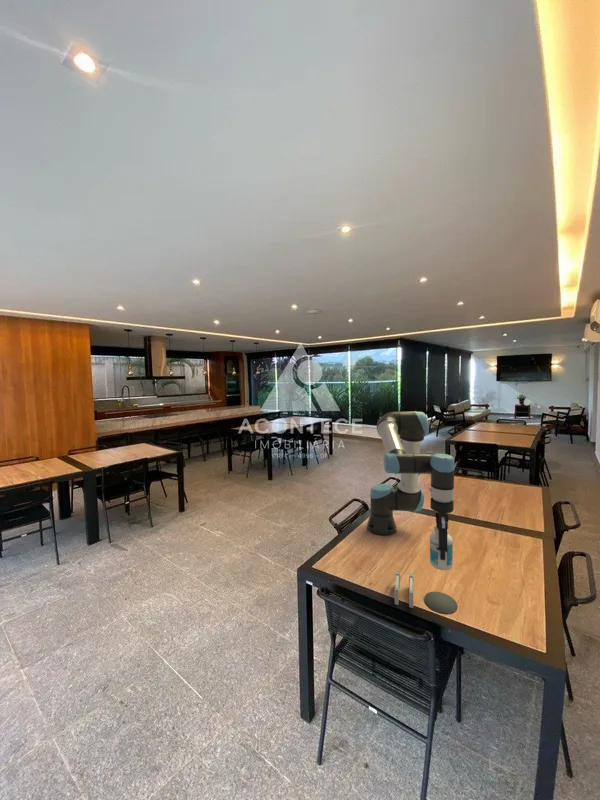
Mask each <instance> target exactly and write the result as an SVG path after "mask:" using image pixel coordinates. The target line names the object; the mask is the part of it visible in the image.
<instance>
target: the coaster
mask: <svg viewBox="0 0 600 800" xmlns="http://www.w3.org/2000/svg"><path fill="white" fill-rule="evenodd" d="M423 598H424V599H423V600H424V603H425V605H426V606H427V607H428V608H429V609H430V610H431V611H434V612H435V613H439V614H443V615H445V614H446V615H448V614H449V615H450V614H451V615H452V614H453V613H456V612H457V610H458V603H457V601H456V600H455V599H454V598H453V597H452V596H450V595H449V594H447V593H444V592H440V591H429V592H426V594H425V595H424V597H423Z"/></svg>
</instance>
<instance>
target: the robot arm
mask: <svg viewBox="0 0 600 800" xmlns="http://www.w3.org/2000/svg"><path fill="white" fill-rule="evenodd" d="M429 427H430V426H429V421H428V417H427V415H426V414H425V412H423V411H417V410H414V411H413V410H412V411H389V412H387V413H386V414H384V415H382V416H381V417H380V418H379V419H378V421H377V424H376V432H377V434H378V436H379V437H380V438H381V440H382V444H383V447H384V451H385V454H384V456H383V468H384V471H385V473H387V474H395V475H397V474H400V482H398V483H397V485H396V487H394V486H393V485H392V484H389V483H379V484H375V485H374V486H372V487H371V488H370V493H369V494H370V495H369V498H370V511H369V512H370V514H369V517H368V520H367V523H366V528H367V530H368V531H369V532H370V533H372V534H374V535H379V536H390V535H391V536H392V535H393V534H395V533H397V532H396V531H397V524H396V521H395V518H394V512H395V511H396V512H399V511H400V512H412V513H413V512H420V511H422V510H423V507H424V504H425V493H424V490H423V489H422V488H421V485H420V484H419V475H430V487H429V488H428V491H429V492H430V502H429V503H430V505H429V506H430V509H431V510H432V511H434V512H435V513H434V515H435V522H436V524H435V525H436V526H437V528H438V532H439V547H438V548H436V549H437V550H438V567H439V568H445V569H447V552H448V549H447V529H448V530H449V526H448V525H449V516H448V514H451V513H453V512H454V509H455V506H454V505H455V502H454V501H455V468H456V465H455V458H454V456H453V455H450V454H447V453H436V452H434V451H426V452H424V453H421V443H422V442H423V441H424V440H425V437H426V436H428V435H429V432H430V428H429ZM436 526H435V527H436Z"/></svg>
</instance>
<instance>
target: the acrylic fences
mask: <svg viewBox="0 0 600 800" xmlns="http://www.w3.org/2000/svg"><path fill="white" fill-rule="evenodd" d="M408 576H409V579H408V581H409V583H408V585H409V587H408V589H409V590H408V591H409V593H408V595H409V597H408V598H409V599H408V600H409V601H408V602H409V603H408V607H409V608H411V609H414V574H413V573H409V575H408ZM400 577H401V576H400V571H397V570H395V587H394V605H396V606H399V602H400V596H399V595H400V594H399V593H400V592H399V591H400V586H401V585H400V584H401V583H400V581H401V580H400V579H401V578H400Z"/></svg>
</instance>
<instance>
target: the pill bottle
mask: <svg viewBox="0 0 600 800" xmlns="http://www.w3.org/2000/svg"><path fill="white" fill-rule="evenodd" d="M453 541H454V540H453V537H452V536H451V535H450V534H449V528H448V529H447V549H448V552H447V569H445V568H439V567H438V550H437V549H436V548H438V547H439V532H438V528H437V526H434V528H433V532H431V534H430V536H429V563H430V564H431V566H432V567H433V568H435V569H436V570H439V571H450V570H451V569H452V568H453V554H454V552H453V551H454V550H453V545H454V544H453V543H454V542H453Z"/></svg>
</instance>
